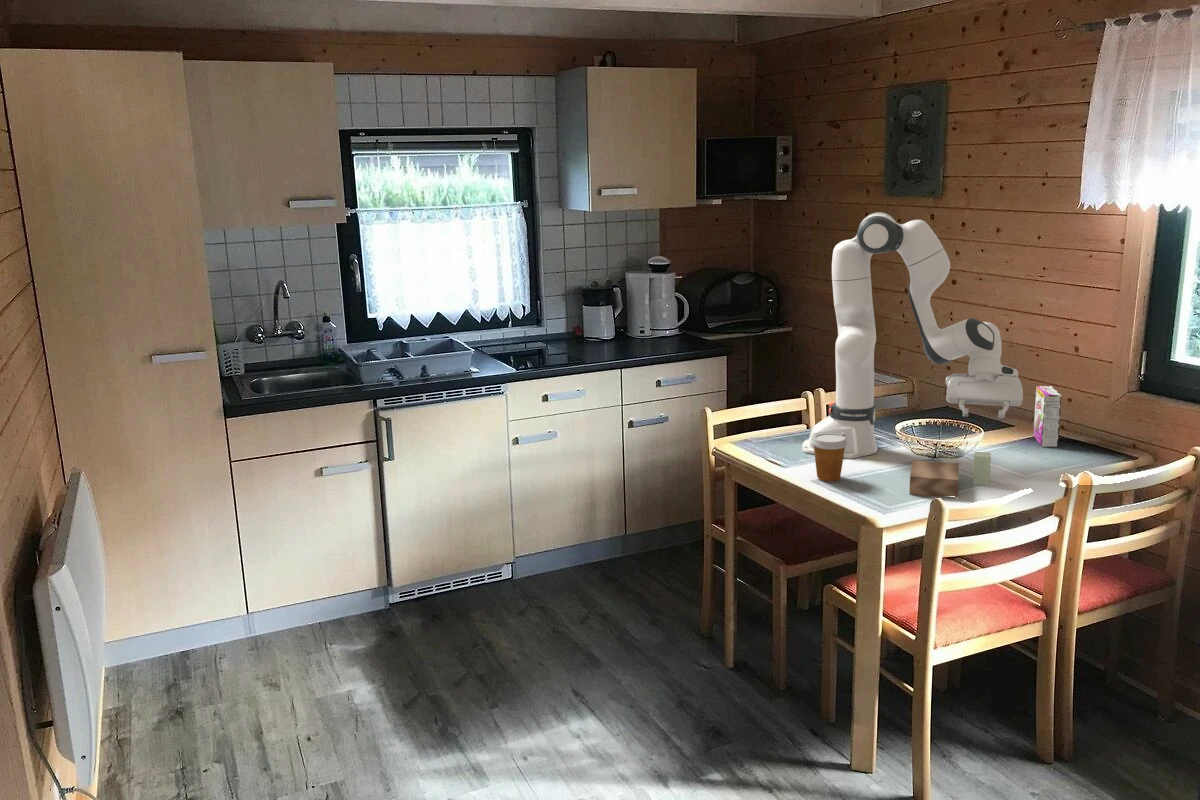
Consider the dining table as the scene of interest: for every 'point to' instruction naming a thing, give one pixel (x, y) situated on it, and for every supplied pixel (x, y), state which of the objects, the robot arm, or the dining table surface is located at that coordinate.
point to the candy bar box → (1047, 416)
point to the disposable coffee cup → (829, 455)
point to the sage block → (981, 468)
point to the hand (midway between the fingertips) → (983, 416)
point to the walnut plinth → (934, 478)
